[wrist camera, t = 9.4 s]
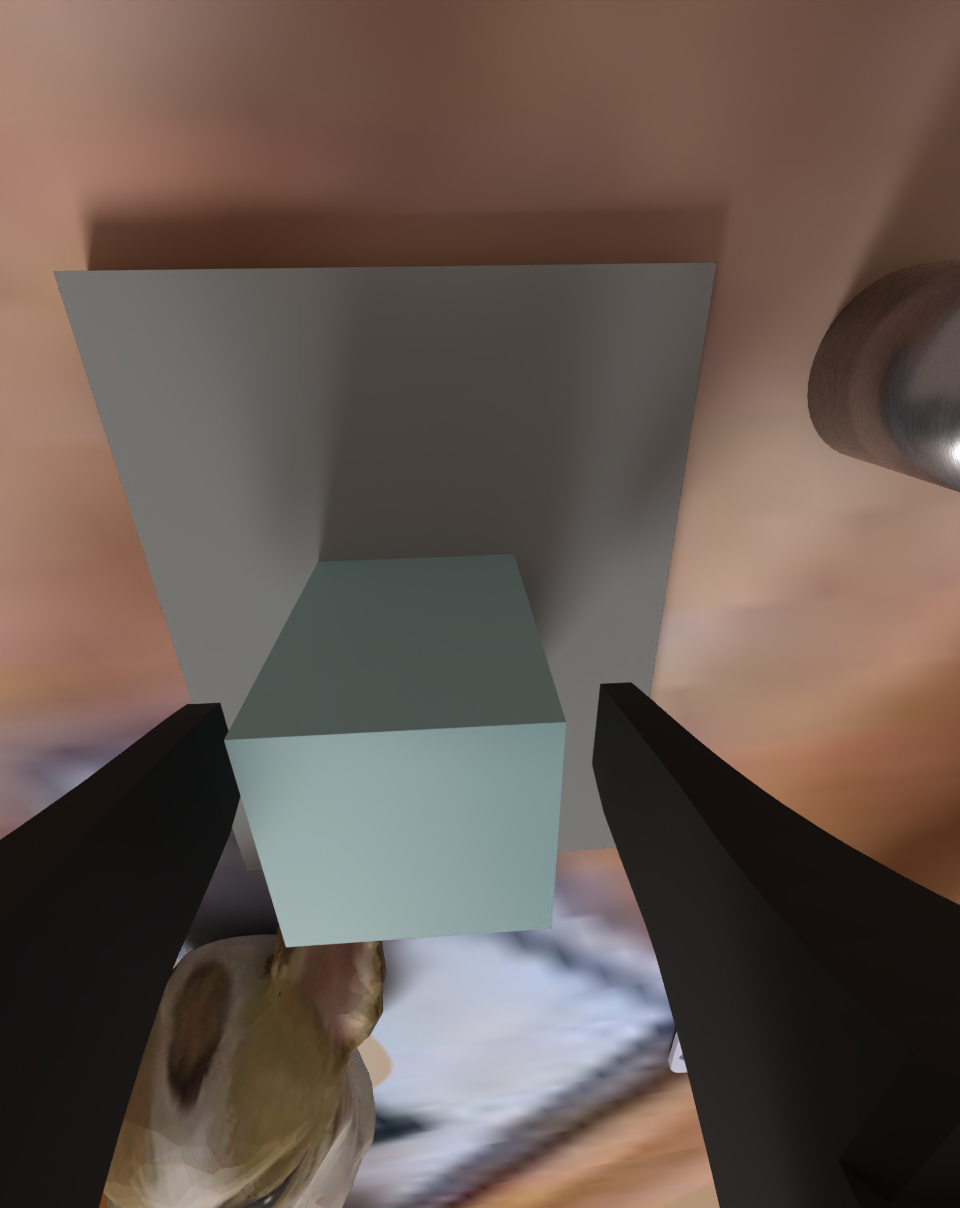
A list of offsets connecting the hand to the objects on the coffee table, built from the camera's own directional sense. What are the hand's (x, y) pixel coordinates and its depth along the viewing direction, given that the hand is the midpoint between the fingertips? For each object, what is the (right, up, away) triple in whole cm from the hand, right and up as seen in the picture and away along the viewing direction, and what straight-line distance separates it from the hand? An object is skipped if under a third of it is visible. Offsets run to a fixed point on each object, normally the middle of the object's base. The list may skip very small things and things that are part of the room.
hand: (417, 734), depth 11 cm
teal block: (0, +2, +3) cm, 3 cm away
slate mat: (0, +2, +4) cm, 4 cm away
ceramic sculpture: (-7, -11, +11) cm, 17 cm away
